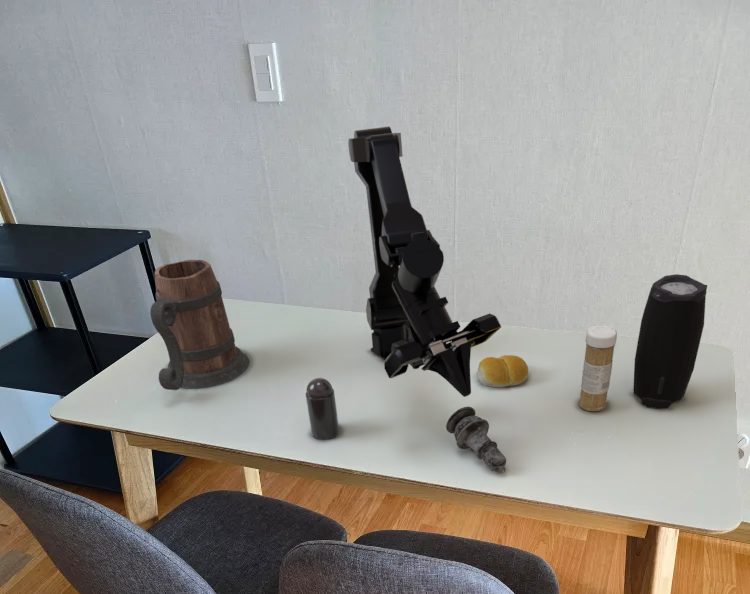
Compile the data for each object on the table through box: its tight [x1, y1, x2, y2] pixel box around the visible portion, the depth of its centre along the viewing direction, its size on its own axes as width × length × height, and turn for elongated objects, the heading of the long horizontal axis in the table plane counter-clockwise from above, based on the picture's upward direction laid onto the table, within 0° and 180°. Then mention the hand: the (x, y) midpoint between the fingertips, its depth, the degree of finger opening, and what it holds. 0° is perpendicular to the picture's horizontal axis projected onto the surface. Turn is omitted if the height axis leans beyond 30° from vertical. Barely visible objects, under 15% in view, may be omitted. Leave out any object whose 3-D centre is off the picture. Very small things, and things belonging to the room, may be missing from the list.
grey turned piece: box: [445, 406, 507, 472], centre depth 106 cm, size 6×6×12 cm
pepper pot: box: [305, 377, 340, 441], centre depth 113 cm, size 5×5×10 cm
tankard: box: [149, 259, 251, 391], centre depth 130 cm, size 24×17×20 cm
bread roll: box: [476, 354, 529, 388], centre depth 125 cm, size 8×9×4 cm
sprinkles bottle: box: [578, 325, 618, 412], centre depth 112 cm, size 5×5×13 cm
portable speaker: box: [632, 273, 708, 410], centre depth 111 cm, size 9×9×20 cm
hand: (467, 395), depth 105 cm, fingers closed
